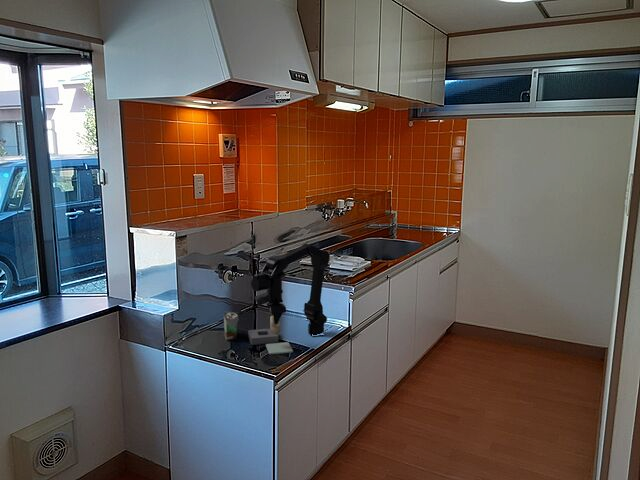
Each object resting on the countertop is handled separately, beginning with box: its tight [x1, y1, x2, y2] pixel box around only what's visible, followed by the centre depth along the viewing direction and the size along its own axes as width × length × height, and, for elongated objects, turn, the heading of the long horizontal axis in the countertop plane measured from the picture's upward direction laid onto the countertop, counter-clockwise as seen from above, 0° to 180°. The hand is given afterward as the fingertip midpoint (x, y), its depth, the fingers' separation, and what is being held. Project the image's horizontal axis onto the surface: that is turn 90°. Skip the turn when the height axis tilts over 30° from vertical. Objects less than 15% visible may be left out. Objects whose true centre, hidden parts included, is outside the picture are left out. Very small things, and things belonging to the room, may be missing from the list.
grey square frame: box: [247, 328, 279, 346], centre depth 222 cm, size 12×10×3 cm
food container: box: [223, 311, 240, 341], centre depth 224 cm, size 12×6×10 cm, turn 16°
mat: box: [265, 341, 294, 355], centre depth 212 cm, size 10×10×1 cm
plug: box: [269, 315, 281, 335], centre depth 213 cm, size 4×4×7 cm
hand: (275, 322), depth 212 cm, fingers closed on plug, 4 cm apart
